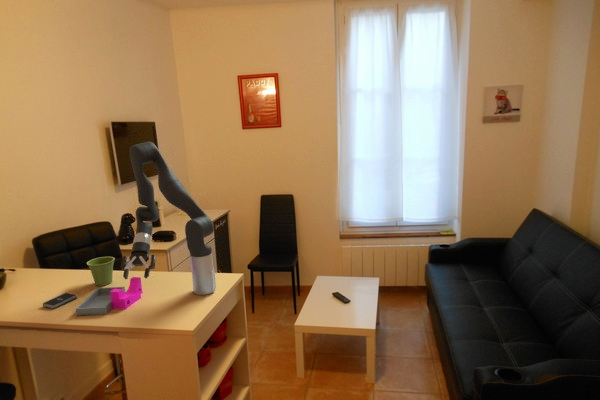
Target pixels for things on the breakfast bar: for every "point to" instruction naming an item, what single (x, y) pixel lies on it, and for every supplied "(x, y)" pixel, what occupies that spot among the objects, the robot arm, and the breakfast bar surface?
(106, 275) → the plant pot
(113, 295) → the toy block
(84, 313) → the tray
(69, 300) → the external hard drive
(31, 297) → the breakfast bar surface
